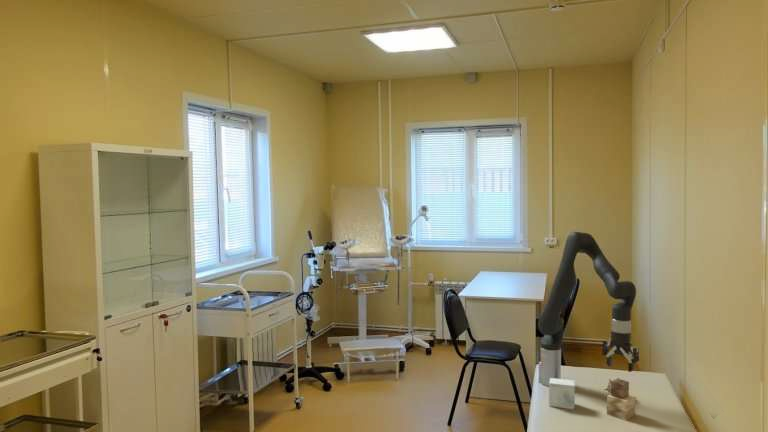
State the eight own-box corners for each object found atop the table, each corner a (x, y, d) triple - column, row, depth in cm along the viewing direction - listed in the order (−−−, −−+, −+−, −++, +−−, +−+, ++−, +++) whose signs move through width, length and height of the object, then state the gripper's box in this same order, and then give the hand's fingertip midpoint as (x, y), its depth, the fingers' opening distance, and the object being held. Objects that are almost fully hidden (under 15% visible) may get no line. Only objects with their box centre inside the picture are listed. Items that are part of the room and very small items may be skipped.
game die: (620, 406, 245) (630, 394, 238) (601, 398, 246) (611, 386, 240) (620, 390, 251) (631, 378, 245) (602, 383, 253) (612, 370, 246)
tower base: (606, 414, 228) (606, 405, 228) (615, 409, 234) (615, 400, 233) (626, 421, 222) (626, 411, 222) (634, 415, 228) (635, 405, 227)
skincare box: (548, 406, 237) (548, 382, 236) (549, 400, 243) (549, 377, 242) (574, 409, 233) (574, 385, 233) (574, 403, 239) (575, 380, 239)
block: (610, 395, 228) (611, 381, 228) (616, 392, 231) (617, 378, 231) (622, 399, 224) (623, 384, 224) (628, 396, 227) (628, 381, 227)
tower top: (607, 405, 228) (607, 395, 228) (616, 400, 233) (616, 390, 233) (626, 411, 222) (626, 401, 222) (635, 405, 227) (635, 396, 227)
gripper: (599, 328, 229) (598, 366, 230) (634, 335, 218) (633, 375, 219) (608, 324, 234) (607, 362, 235) (642, 331, 223) (641, 371, 224)
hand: (619, 368), depth 227 cm, fingers open, 8 cm apart
